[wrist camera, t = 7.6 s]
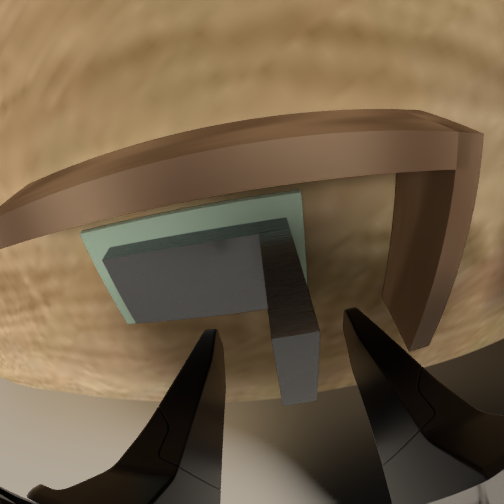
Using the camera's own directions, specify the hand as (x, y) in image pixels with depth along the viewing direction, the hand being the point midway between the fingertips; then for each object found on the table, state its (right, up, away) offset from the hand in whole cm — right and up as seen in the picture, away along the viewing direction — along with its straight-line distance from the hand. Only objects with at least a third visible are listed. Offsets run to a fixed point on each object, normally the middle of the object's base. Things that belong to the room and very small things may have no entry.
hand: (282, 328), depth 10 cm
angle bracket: (-3, +2, +3) cm, 5 cm away
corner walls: (-2, +3, +3) cm, 5 cm away
